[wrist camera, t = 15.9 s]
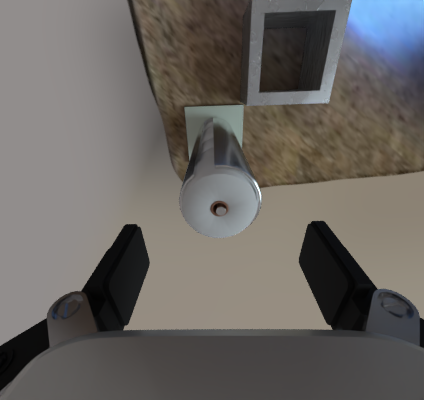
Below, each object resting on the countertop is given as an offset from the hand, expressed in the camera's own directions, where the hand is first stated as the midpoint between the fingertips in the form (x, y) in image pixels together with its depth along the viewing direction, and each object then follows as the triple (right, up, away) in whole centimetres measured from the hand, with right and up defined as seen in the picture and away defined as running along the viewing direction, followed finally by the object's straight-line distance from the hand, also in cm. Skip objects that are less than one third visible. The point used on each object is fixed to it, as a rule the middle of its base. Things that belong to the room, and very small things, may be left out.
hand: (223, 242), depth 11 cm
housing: (+9, +24, +20) cm, 33 cm away
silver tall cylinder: (0, +14, +25) cm, 29 cm away
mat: (0, +14, +26) cm, 30 cm away
